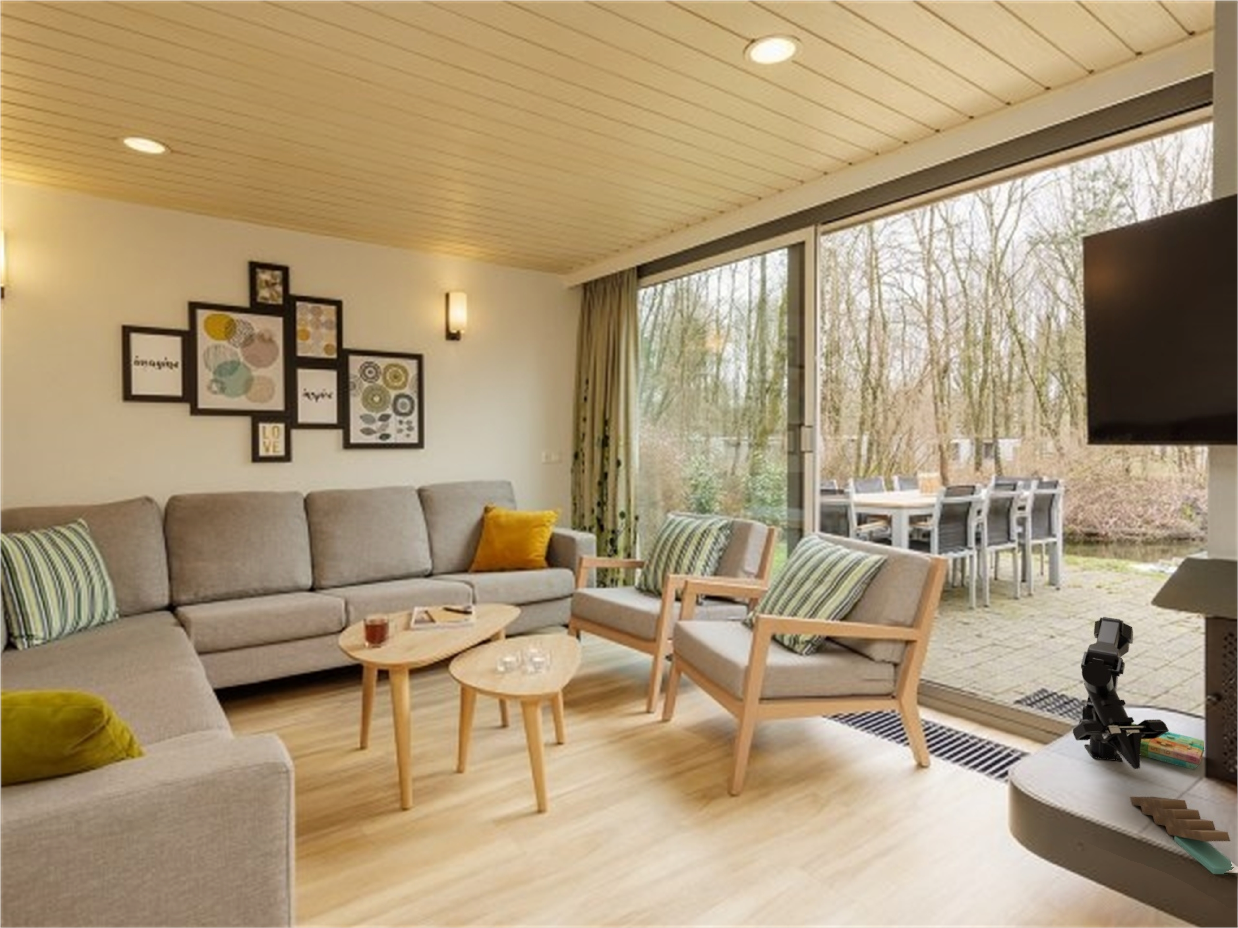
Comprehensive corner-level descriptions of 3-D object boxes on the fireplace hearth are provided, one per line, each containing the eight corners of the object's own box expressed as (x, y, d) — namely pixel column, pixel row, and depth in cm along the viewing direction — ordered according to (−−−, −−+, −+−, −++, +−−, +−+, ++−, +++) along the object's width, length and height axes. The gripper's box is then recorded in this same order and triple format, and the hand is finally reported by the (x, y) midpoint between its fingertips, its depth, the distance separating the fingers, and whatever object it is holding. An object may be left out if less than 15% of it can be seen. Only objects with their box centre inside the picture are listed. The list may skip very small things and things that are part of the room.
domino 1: (1129, 796, 155) (1160, 800, 146) (1152, 796, 155) (1185, 800, 146) (1131, 804, 154) (1163, 808, 145) (1154, 804, 154) (1187, 808, 145)
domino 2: (1140, 805, 151) (1173, 810, 142) (1164, 805, 151) (1198, 810, 142) (1143, 813, 151) (1175, 818, 142) (1166, 813, 151) (1200, 818, 141)
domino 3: (1152, 815, 148) (1187, 820, 138) (1176, 815, 148) (1213, 820, 138) (1154, 823, 147) (1190, 829, 138) (1178, 823, 147) (1215, 829, 138)
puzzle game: (1199, 755, 166) (1100, 729, 180) (1199, 774, 166) (1099, 746, 181) (1206, 738, 174) (1110, 714, 188) (1205, 756, 174) (1110, 731, 189)
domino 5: (1174, 835, 142) (1213, 868, 132) (1199, 835, 141) (1241, 868, 131) (1174, 843, 142) (1213, 876, 132) (1199, 843, 141) (1240, 876, 132)
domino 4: (1165, 825, 144) (1201, 831, 135) (1190, 825, 144) (1227, 831, 135) (1167, 834, 144) (1204, 840, 134) (1192, 834, 143) (1230, 841, 134)
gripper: (1127, 711, 171) (1159, 778, 161) (1051, 712, 172) (1078, 779, 162) (1152, 694, 163) (1187, 763, 153) (1071, 695, 163) (1101, 764, 153)
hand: (1137, 768), depth 155 cm, fingers closed
